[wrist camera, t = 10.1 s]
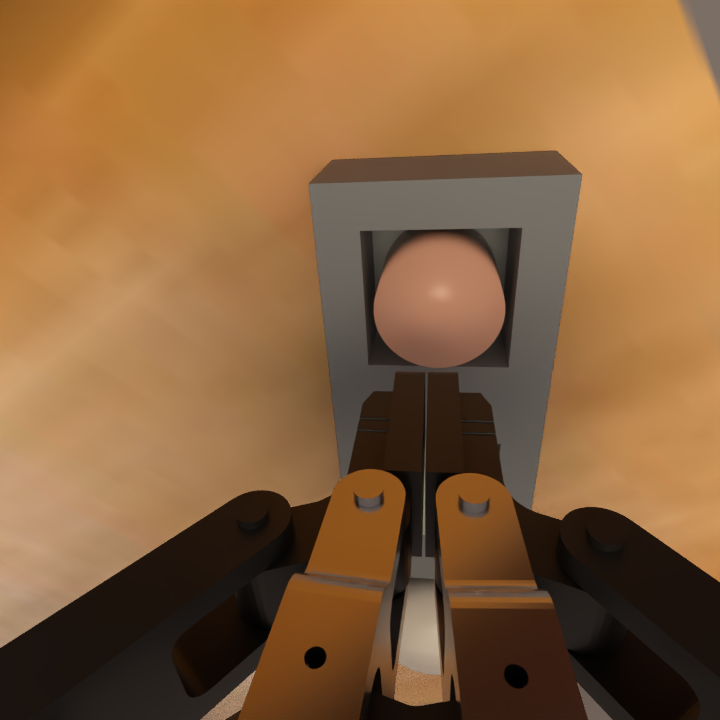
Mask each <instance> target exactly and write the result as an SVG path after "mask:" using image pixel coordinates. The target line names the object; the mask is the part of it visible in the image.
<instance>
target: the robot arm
mask: <svg viewBox="0 0 720 720" xmlns="http://www.w3.org/2000/svg"><path fill="white" fill-rule="evenodd" d="M424 470H425V557H434V558H435V607H436V620H437V632H438V644H439V657H440V669H441V682H442V699H443V702H440V703H435V704H429V705H424V706H410V705H406V704H404V703H401V702H399V701H396V700H394V695H395V683H396V675H397V668H398V660H399V653H400V646H401V639H402V632H403V624H404V617H405V610H406V603H407V596H408V583H409V580H410V576H411V562H412V556H414V557H422V539H423V504H424ZM255 670H256V672H255V674H254V677H253V680H252V682H251V685H250V688H249V691H248V693H247V696H246V699H245V701H244V704H243V707H242V710H240V711H239V712H237V713H235V714H234V715H232V716H230V717H229V718H227V719H226V720H588V717H587V714H586V710H585V707H584V704H583V701H582V697H581V694H580V691H579V687H578V684H577V682H578V683H579V685H580V686H581V687H582V688H583V689H584V690H585V691H586V692H587V693H588V694H589V695H590V696H591V697H592V698H593V699H594V700H595V701H596V702H597V704H599V705H600V707H601V708H602V709H603V710H604V711H605V712H606V713H607V714H608V715H609V716H610V717H611V718H612V719H613V720H720V582H718V581H717V580H716V579H714V578H713V577H711V576H710V575H708V574H707V573H706V572H704V571H703V570H701V569H700V568H698V567H697V566H696V565H694V564H693V563H691V562H690V561H688V560H687V559H686V558H684V557H683V556H681V555H680V554H678V553H677V552H676V551H674V550H673V549H671V548H670V547H668V546H667V545H666V544H664V543H663V542H661V541H660V540H658V539H657V538H656V537H654V536H653V535H651V534H650V533H648V532H647V531H646V530H644V529H643V528H641V527H640V526H638V525H637V524H636V523H634V522H633V521H631V520H630V519H628V518H627V517H625V516H623V515H621V514H619V513H617V512H614V511H611V510H608V509H604V508H598V507H584V508H579V509H575V510H573V511H571V512H569V513H568V514H567V515H566V516H565V517H564V518H563V519H562V520H559V519H556V518H552V517H549V516H545V515H542V514H539V513H536V512H534V511H531V510H529V509H527V508H526V507H524V506H522V505H521V504H519V503H518V502H517V501H516V500H515V499H514V498H513V497H512V496H511V494H510V493H509V491H508V490H507V489H506V487H505V485H504V481H503V475H502V469H501V463H500V456H499V450H498V444H497V437H496V431H495V425H494V419H493V412H492V406H491V405H490V403H489V402H488V401H487V400H486V399H485V398H484V396H483V395H482V394H481V393H462V392H459V378H458V372H428V387H427V424H426V461H425V372H415V371H396V372H395V379H394V387H393V391H373V393H372V394H371V395H370V396H369V397H368V398H367V399H366V400H365V401H364V402H363V404H362V409H361V413H360V420H359V423H358V427H357V432H356V437H355V441H354V446H353V451H352V455H351V460H350V465H349V469H348V474H347V476H345V477H344V478H342V479H341V480H340V481H339V482H338V483H337V485H336V486H335V488H334V490H333V493H332V495H331V496H329V497H327V498H325V499H323V500H320V501H318V502H314V503H310V504H305V505H300V506H295V507H290V504H289V503H288V501H287V500H286V499H285V498H284V497H283V496H281V495H280V494H277V493H275V492H271V491H264V490H262V491H252V492H248V493H244V494H242V495H240V496H238V497H236V498H234V499H232V500H231V501H229V502H228V503H226V504H224V505H223V506H221V507H220V508H218V509H217V510H215V511H214V512H212V513H210V514H209V515H207V516H206V517H204V518H203V519H201V520H200V521H198V522H196V523H195V524H193V525H192V526H190V527H189V528H187V529H185V530H184V531H182V532H181V533H179V534H178V535H176V536H175V537H173V538H171V539H170V540H168V541H167V542H165V543H164V544H162V545H161V546H159V547H157V548H156V549H154V550H153V551H151V552H150V553H148V554H146V555H145V556H143V557H142V558H140V559H139V560H137V561H136V562H134V563H132V564H131V565H129V566H128V567H126V568H125V569H123V570H122V571H120V572H118V573H117V574H115V575H114V576H112V577H111V578H109V579H107V580H106V581H104V582H103V583H101V584H100V585H98V586H97V587H95V588H93V589H92V590H90V591H89V592H87V593H86V594H84V595H83V596H81V597H79V598H78V599H76V600H75V601H73V602H72V603H70V604H68V605H67V606H65V607H64V608H62V609H61V610H59V611H58V612H56V613H54V614H53V615H51V616H50V617H48V618H47V619H45V620H44V621H42V622H40V623H39V624H37V625H36V626H34V627H33V628H31V629H30V630H28V631H26V632H25V633H23V634H22V635H20V636H19V637H17V638H15V639H14V640H12V641H11V642H9V643H8V644H6V645H5V646H3V647H1V648H0V720H200V719H201V718H202V717H204V716H205V715H206V714H207V713H208V712H209V711H210V710H211V709H212V708H214V707H215V706H216V705H217V704H218V703H219V702H220V701H221V700H223V699H224V698H225V697H226V696H227V695H228V694H229V693H230V692H231V691H233V690H234V689H235V688H236V687H237V686H238V685H239V684H240V683H241V682H243V681H244V680H245V679H246V678H247V677H248V676H249V675H250V674H252V673H253V672H254V671H255Z"/></svg>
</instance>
